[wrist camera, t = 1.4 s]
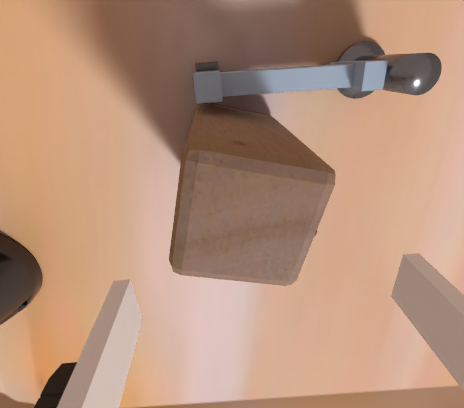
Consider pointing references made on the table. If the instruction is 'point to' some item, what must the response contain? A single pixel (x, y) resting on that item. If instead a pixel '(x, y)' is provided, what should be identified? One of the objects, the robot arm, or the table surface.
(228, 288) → the table surface
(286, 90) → the grey i-beam block
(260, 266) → the wooden block
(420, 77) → the gate posts
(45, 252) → the table surface
